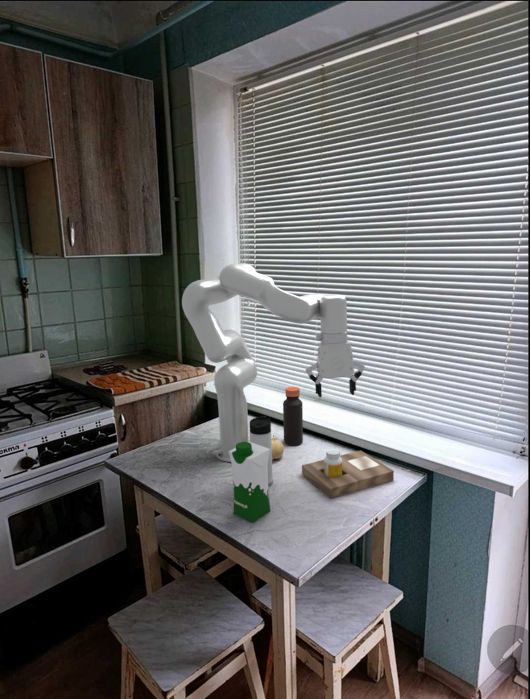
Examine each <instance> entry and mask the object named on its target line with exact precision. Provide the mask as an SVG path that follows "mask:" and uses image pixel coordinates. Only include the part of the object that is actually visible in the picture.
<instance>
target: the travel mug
mask: <svg viewBox="0 0 530 699" xmlns="http://www.w3.org/2000/svg"><path fill="white" fill-rule="evenodd" d="M271 422H272V421H271V419H270V418H268V417H267V416H266V415H260V416H258V417H254V418H252V419H251V420H250V421H249V442H252V443H255V444H257V445H260V446H263V447H266V448H269V449H270V453H269V459H268V488H269V487H271V486H272V485H273V481H274V480H273V460H272V441H271V439H272V423H271Z"/></svg>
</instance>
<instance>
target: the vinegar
mask: <svg viewBox="0 0 530 699" xmlns="http://www.w3.org/2000/svg"><path fill="white" fill-rule="evenodd" d="M284 391H285V397H286V398H285V400H284V401H283V402H282V403H283V404H282V412H283V413H282V414H283V415H282V417H283V418H282V419H283V443H284V444H285V445H286V446H291V447H297V446H300V445H302V444H303V442H304V434H303V432H304V430H303V429H304V428H303V426H304V425H303V424H304V422H303V421H304V420H303V413H304V412H303V401H302V400H301V399H300V398H299V397H300V391H301V390H300V388H299V387H298V386H297V387H296V386H288V387H286V388H285V390H284Z"/></svg>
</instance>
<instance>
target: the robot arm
mask: <svg viewBox="0 0 530 699" xmlns="http://www.w3.org/2000/svg"><path fill="white" fill-rule="evenodd" d="M236 296H240V297H242V298H245V299H248V300H250V301H252V302H255V303H257V304H259V305H261V306H262V307H263V308H264V309H266V310H267V311H268V312H270V313H271V314H273V315H275V316H276V317H279V318H281V319H284V320H286V321H288V322H292V323H293V324H299V325H300V324H301V325H302V324H307V323H309V322H310V321H313V320H316V319H320V320H319V321H320V332H319V334H316V335H315V339H316V340H317V341H320V342H319V343H318V348H317V349H318V350H317V358H316V360H317V361H316V362H315V363H313V364H311V365H310V366H308V367H306V368H305V372H306V373H307V376H308V377H309V380H311V381H312V382H313V383H314V384H315V386H314V387H315V394H316V395H317V396H318V397H319V398H322V396H323V395H322V383H321V382H322V380H323V379H335V378H336V379H338V378H348V377H349V378H350V379H349V382H348V384H349V386H348V388H349V393H350V394H351V395H352V396H353V395H355V392H356V391H357V384H356V383H357V381H358V379H359V378H360V377H361V376H362V374H363V372H364V370H365V368H366V367H365V365H364V364H363V363H361V362H358V361H355V360H354V356H353V349H352V344H351V342H350V341H349V340H348V312H347V310H348V308H347V307H348V306H347V305H348V304H347V298H346V296H345V295H343V294H326V295H323V294H317V293H308V294H304V295H301V296H298V295H295V294H292V293H290V292H287V291H285V290H283V289H280V288H279V287H278V286H276V285H275V281H274V279H273V278H272V277H270V276H268V275H265V274H263V273H259V272H257V270H256V268H254V266H252V265H251V264H249V263H245V262H242V263H233V264H232V263H231V264H228V265H226V266H225V267H223V268H222V269H221V271H220V272H219V275H218V276H216V277H211V278H204V279H198V280H195V281H193V282H191V283H190V284H189V285H188V286H186V288H185V289H184V291H183V294H182V297H181V306H182V310H183V313H184V316H185V317H186V318H187V320H188V322H189V325H191V328H192V329H193V332H194V334H195V336H196V338H197V341H198V342H199V344H200V346H201V349H202V350H203V353H204V355H205V356H206V358H207V359H208V361H210V362H211V363H214V364H219V363H222V362H225V361H226V362H227V363H226V364H224V365H223V366H221V367H220V368H218V370H217V371H216V373H215V375H214V378H213V380H214V381H213V383H214V387H215V391H216V396H217V406H218V421H219V422H218V424H219V441H217V444H216V445H214V446H208V447H206V454H212V455H214V456H216V458H217V459H219V461H220V460H221V461H224V462H228V463H231V459H230V455H229V451H230V450H232V449H234V448H236V444H238V443H241V442H250V439H249V422H248V420H249V418H248V417H249V416H248V402H247V401H248V400H247V398H246V395H245V391H244V388H246V387H248V386H249V385H250V384H252V383H253V382H254V381H256V378H257V376H258V368H257V364H256V362H255V361H254V358H253V356H252V354H251V352H250V350H249V348H248V345H247V344H246V341H245V340H244V337H242V335H241V334H240V333H239V332H238V331H236V330H233V329H224V330H223V328H222V326H221V324H220V322H219V319H218V318H217V316H216V315H215V314H214V312H212V310H210V309H209V306H212V305H217V304H220V303H223V302H225V301H228V300H230V299H232V298H234V297H236ZM355 367H357V371H355V369H354V368H355ZM315 370H317V375H316V376H315V375H314V374H313V373H312V372H313V371H315ZM354 371H355V372H354Z"/></svg>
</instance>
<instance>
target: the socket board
mask: <svg viewBox="0 0 530 699" xmlns="http://www.w3.org/2000/svg"><path fill="white" fill-rule="evenodd" d="M340 457H341V459H342V476H338V477H334V478H331V479H330V478H328V477H327V476H326V475H324V459H321V460H318V461H314V462H310V463H305V464H302V465H301V475H303V477H305V478H306V479H307V480H308V481H309V482H310V483H311V484H313V485H314V486H315V487H316V488H317V489H319V490H320V491H321V492H322V493H323V494H324V495H325V496H327V497H328V498H329V499H330V500H332V499H335V498H338V497H341V495H342V496H344V494H345V495H348V494H352V493H355V492H359V491H362V490H365V489H368V488H372V487H375V486H378V485H381V484H385V483H388V482H392V481H394V472H395V471H394V470H393V469H392V468H390V467H388V466H386V464H384V463H383V462H380V461H379V460H377V459H375V458H374V457H372V456H371V455H369V454H367V453H365V452H364V451H362V449H361V450H357V451H353V452H350V453H345V454H340Z"/></svg>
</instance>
